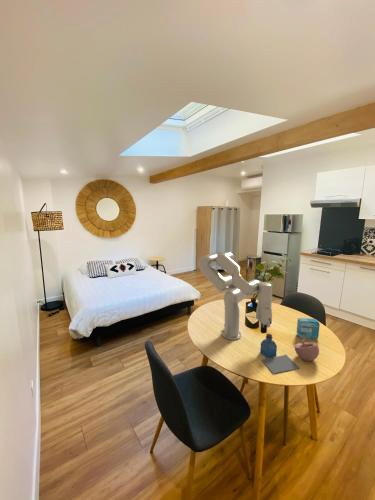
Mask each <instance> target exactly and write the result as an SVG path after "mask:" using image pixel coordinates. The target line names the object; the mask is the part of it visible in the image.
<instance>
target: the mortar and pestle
mask: <svg viewBox="0 0 375 500" xmlns="http://www.w3.org/2000/svg"><path fill="white" fill-rule="evenodd" d="M306 339H307V338H303V339H302V340H301V342H300V343H296V344H295V345H294V351H295V352H296V355H297V356H298V357H299V358H300V359H301V360H304V361H307V362H310V361H315V360H316V359H317V358H318V356H320V355H319V354H320V350H319V349H320V348H319V345H318V344H317V343H316V342H311V341H310V342H309V341H307V342H306Z"/></svg>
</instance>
